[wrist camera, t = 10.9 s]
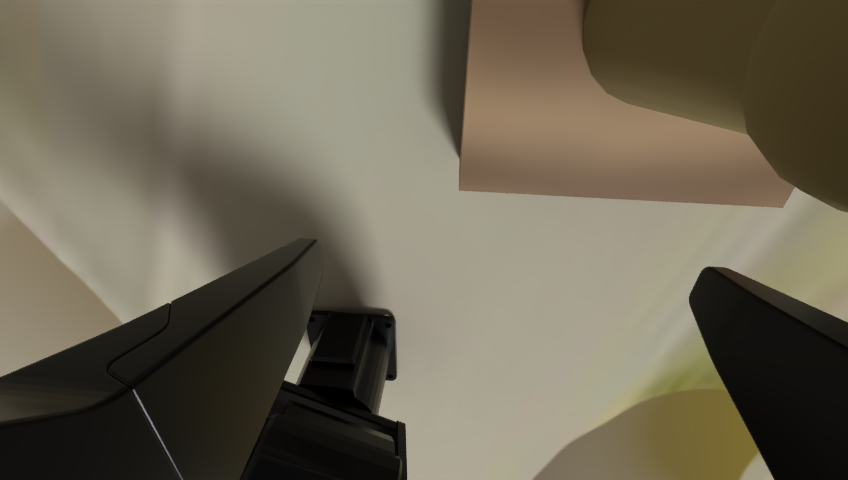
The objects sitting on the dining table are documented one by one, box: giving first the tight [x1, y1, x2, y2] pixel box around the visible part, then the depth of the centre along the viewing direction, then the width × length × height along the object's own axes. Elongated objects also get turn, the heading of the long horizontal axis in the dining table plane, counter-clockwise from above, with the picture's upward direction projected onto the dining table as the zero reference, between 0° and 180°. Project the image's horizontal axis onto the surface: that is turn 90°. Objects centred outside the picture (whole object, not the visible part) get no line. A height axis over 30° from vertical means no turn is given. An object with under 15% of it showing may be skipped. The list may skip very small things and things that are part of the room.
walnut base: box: [459, 0, 795, 208], centre depth 15 cm, size 14×14×4 cm
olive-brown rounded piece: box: [583, 0, 848, 212], centre depth 9 cm, size 6×6×11 cm
